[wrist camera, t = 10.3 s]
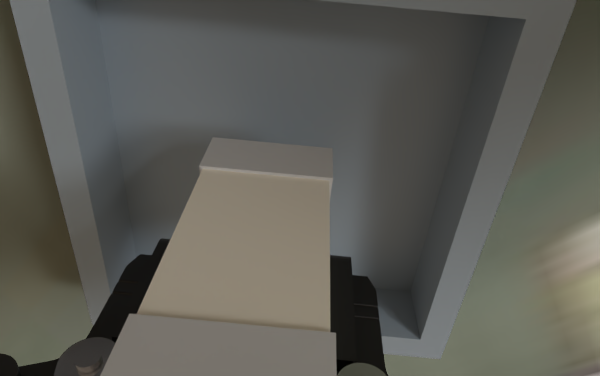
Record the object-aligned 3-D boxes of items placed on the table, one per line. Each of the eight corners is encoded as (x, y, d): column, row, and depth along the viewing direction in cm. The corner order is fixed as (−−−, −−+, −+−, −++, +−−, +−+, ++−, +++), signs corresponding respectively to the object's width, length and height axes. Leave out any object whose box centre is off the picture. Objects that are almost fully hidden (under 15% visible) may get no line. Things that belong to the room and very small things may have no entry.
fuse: (332, 148, 16) (337, 430, 8) (320, 241, 18) (313, 537, 10) (212, 137, 16) (85, 406, 8) (215, 231, 18) (119, 518, 10)
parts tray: (531, -41, 16) (585, -23, 12) (425, 295, 25) (440, 359, 21) (62, -83, 16) (-10, -76, 13) (124, 266, 25) (92, 324, 22)
